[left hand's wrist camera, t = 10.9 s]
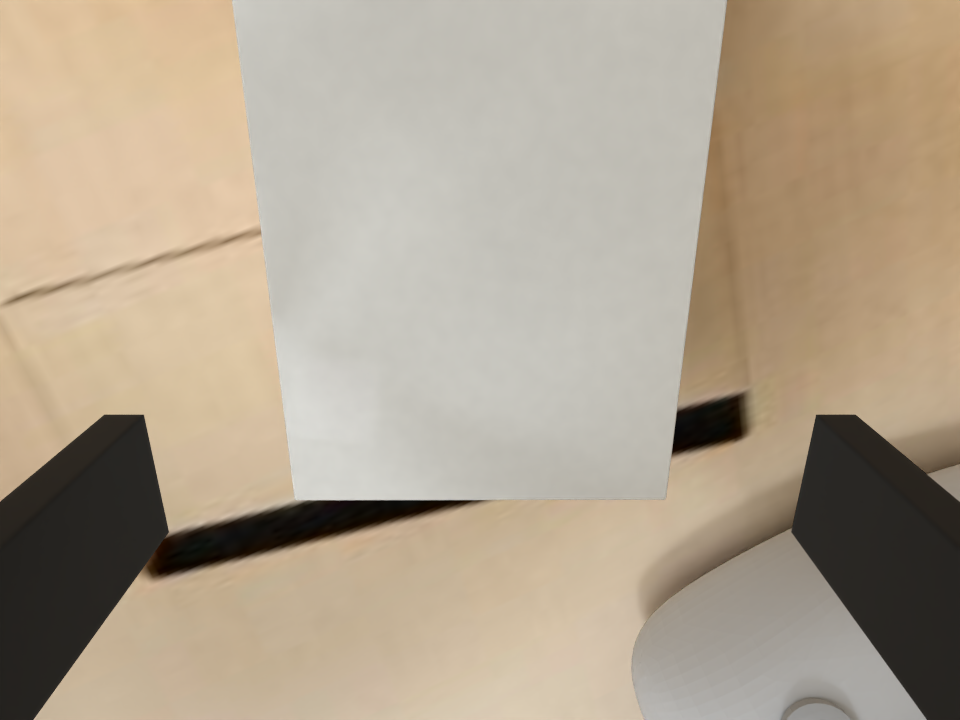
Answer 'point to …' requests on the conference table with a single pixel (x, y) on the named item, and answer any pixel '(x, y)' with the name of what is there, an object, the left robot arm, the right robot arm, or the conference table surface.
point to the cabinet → (479, 238)
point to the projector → (766, 645)
